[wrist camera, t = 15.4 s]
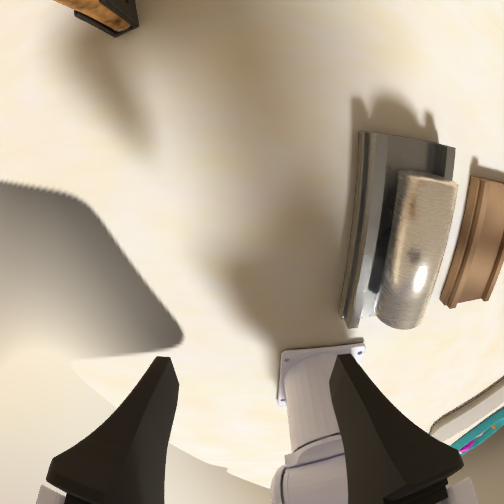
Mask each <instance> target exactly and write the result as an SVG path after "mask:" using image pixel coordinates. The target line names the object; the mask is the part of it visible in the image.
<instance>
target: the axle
mask: <svg viewBox="0 0 504 504" xmlns="http://www.w3.org/2000/svg"><path fill="white" fill-rule="evenodd" d="M457 190H458V184H457V183H456V182H454V181H452V180H450V179H447V178H444V177H441V176H438V175H435V174H431V173H426V172H421V171H415V170H399V172H398V182H397V191H396V199H395V207H394V214H393V220H392V227H391V233H390V238H389V244H388V249H387V254H386V259H385V264H384V268H383V273H382V277H381V282H380V286H379V290H378V294H377V298H376V302H375V305H374V311H375V314H376V316H377V317H378V318H379V319H380V320H381V321H382V322H383V323H385V324H386V325H388V326H390V327H393V328H397V329H412V328H415V327H416V326H418V325H419V324H420V323H421V321H422V318H423V316H424V313H425V310H426V308H427V305H428V302H429V300H430V297H431V294H432V291H433V288H434V285H435V282H436V279H437V276H438V273H439V269H440V266H441V263H442V259H443V256H444V252H445V248H446V244H447V240H448V236H449V232H450V227H451V223H452V218H453V213H454V208H455V202H456V196H457Z"/></svg>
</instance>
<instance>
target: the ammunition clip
mask: <svg viewBox="0 0 504 504" xmlns="http://www.w3.org/2000/svg"><path fill="white" fill-rule="evenodd" d="M54 1H56V2H59V3H61V4H63V5H65V6H68V7H70V8H72V9H74V15H75V17H77V18H79V19H81V20H83V21H85V22H87V23H89V24H91V25H93V26H95V27H97V28H99V29H101V30H102V31H104V32H106V33H108V34H110V35H111V36H113V37H117V36H119V35H121V34H123V33H125V32H128V31H130V30H132V29H134V28H137V27H138V26H139V22H138V17H137V11H136V5H135V0H54Z"/></svg>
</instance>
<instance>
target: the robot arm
mask: <svg viewBox="0 0 504 504" xmlns="http://www.w3.org/2000/svg"><path fill="white" fill-rule="evenodd" d="M365 349H366V347H365V344H363V343H359V344H351V345H342V346H333V347H323V348H312V349H299V350H286V351H283V352H282V354H281V367H280V380H279V392H278V406H287V412H288V421H289V430H290V440H291V450H292V453H291V454H288V455H285V465H283V466H281V467H279V468H278V470H277V472H276V474H275V475H274V477H273V479H272V483H271V501H272V504H478V500H477V497H476V494H475V490H474V487H473V484H472V481H471V478H470V477H468V478H466V479H464V480H462V481H461V482H459V483H457V484H455V485H454V486H452V487H450V488H448V489H446V487H445V485H447V484H448V481H447V478H448V477H449V476H451V475H452V474H454V473H455V472H457V471H458V470H460V469H461V468H462V467H463V466H464V464H463V461H462V458H461V455H460V453H459V451H458V450H457V449H455V448H453V447H451V446H449V445H447V444H445V443H442V442H441V441H439V440H437V439H436V438H434V437H432V436H431V435H429V434H428V433H426V432H425V431H423V430H422V429H421V428H419V427H418V426H416V425H415V424H414V423H413V422H411V421H410V420H409V419H408V418H407V417H405V416H404V415H403V414H402V413H401V412H400V411H399V410H398V409H397V408H396V407H395V406H394V405H393V404H392V403H391V402H390V401H389V400H388V399H387V398H386V397H385V396H384V395H383V394H382V392H381V391H380V390H379V389H378V388H377V386H376V385H375V384H374V383H373V382H372V380H371V379H370V378H369V377H368V375H367V374H366V373H365V372H364V370H363V369H362V368H361V366H360V363H361V360H362V357H363V354H364V352H365ZM287 358H288V359H287ZM178 391H179V382H178V379H177V376H176V373H175V370H174V367H173V364H172V361H171V358H170V357H160V356H157V357H156V358H155V359H154V361H153V362H152V364H151V365H150V367H149V368H148V370H147V371H146V372H145V374H144V375H143V377H142V378H141V380H140V381H139V382H138V384H137V385H136V386H135V388H134V389H133V390H132V392H131V393H130V394H129V395H128V397H127V398H126V399H125V400H124V401H123V403H122V404H121V405H120V406H119V407H118V408H117V410H116V411H115V412H114V413H113V414H112V415H111V416H110V417H109V418H108V419H107V420H106V421H105V422H104V423H103V424H102V425H100V426H99V427H98V428H97V429H96V430H95V431H94V432H92V433H91V434H90V435H89V436H87V437H86V438H85V439H83V440H82V441H80V442H79V443H78V444H76V445H75V446H73V447H72V448H70V449H68V450H67V451H65V452H63V453H61V454H59V455H58V456H56V457H54V458H53V459H52V461H51V464H50V467H49V470H48V474H47V477H46V480H47V482H49V483H50V484H52V485H53V486H55V487H57V488H59V489H61V490H62V491H64V492H66V493H67V494H66V497H65V496H63V495H61V494H59V493H57V492H55V491H53V490H51V489H49V488H47V487H45V486H43V485H42V486H41V487H40V491H39V494H38V498H37V502H36V504H164V480H165V464H166V453H167V447H168V441H169V437H170V433H171V428H172V424H173V420H174V415H175V411H176V407H177V400H178Z"/></svg>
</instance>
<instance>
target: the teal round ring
mask: <svg viewBox="0 0 504 504" xmlns="http://www.w3.org/2000/svg"><path fill="white" fill-rule="evenodd" d="M503 424H504V408H502V409H501V410H499V411H498V412H496V413H495V414H493V415H492V416H490V417H489V418H487V419H486V420H485V421H483V422H482V423H480V424H479V425H478V426H476V427H475V428H474V429H472V430H471V431H469V432H468V433H467V434H465V435H464V436H463V437H461V438H460V439H458V440H457V441H456V442H455V443H453V444H452V445H451V447H453V448H455V449H457V450H458V451H459V453H460V455H461V456H462V455H463V454H465V453H467V452H468V451H470V450H472V449H473V448H475V447H476V446H478V445H479V444H480V443H482V442H483V441H485V440H486V439H487V438H488V437H490V436H491V435H492V434H493V433H495V432H496V431H497V430H498V429H499V428H500V427H501V426H502V425H503ZM487 429H488V430H487ZM486 430H487V431H486ZM484 431H485V432H484ZM483 432H484V433H483ZM476 437H477V438H476ZM475 438H476V439H475ZM466 444H467V445H466Z"/></svg>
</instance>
